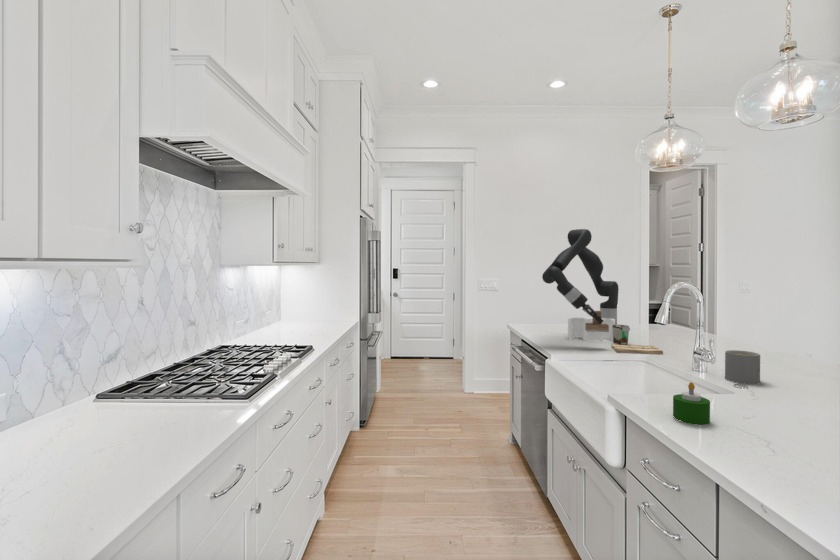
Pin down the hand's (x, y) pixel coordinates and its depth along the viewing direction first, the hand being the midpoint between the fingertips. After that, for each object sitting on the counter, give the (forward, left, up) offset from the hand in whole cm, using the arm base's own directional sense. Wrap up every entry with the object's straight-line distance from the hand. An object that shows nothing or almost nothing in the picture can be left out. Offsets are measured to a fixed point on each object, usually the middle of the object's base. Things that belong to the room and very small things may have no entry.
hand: (601, 321), depth 208 cm
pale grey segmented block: (-31, 0, -14) cm, 34 cm away
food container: (-18, +14, -14) cm, 27 cm away
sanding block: (0, -2, -5) cm, 5 cm away
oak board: (0, +16, -14) cm, 21 cm away
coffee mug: (+50, +39, -14) cm, 65 cm away
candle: (+99, +6, -14) cm, 100 cm away
